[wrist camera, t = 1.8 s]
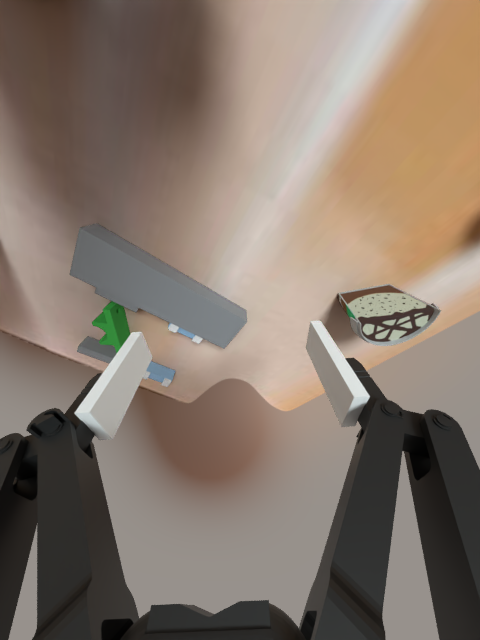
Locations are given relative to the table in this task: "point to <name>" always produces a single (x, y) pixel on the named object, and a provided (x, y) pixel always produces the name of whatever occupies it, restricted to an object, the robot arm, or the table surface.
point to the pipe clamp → (113, 325)
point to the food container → (387, 314)
